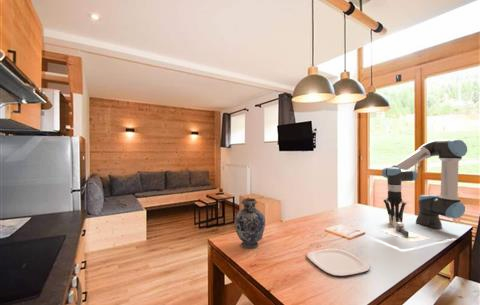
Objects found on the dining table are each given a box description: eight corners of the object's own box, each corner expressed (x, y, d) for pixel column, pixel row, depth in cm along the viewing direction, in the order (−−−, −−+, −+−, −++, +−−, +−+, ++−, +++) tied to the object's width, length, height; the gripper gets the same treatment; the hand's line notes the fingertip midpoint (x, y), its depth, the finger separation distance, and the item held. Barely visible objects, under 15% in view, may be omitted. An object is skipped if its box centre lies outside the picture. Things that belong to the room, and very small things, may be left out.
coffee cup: (401, 229, 162) (401, 212, 162) (386, 225, 169) (386, 210, 169) (404, 226, 168) (404, 210, 168) (390, 223, 175) (390, 207, 175)
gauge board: (396, 229, 162) (396, 226, 162) (431, 240, 141) (431, 238, 141) (377, 232, 156) (377, 230, 156) (411, 245, 135) (411, 242, 135)
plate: (377, 272, 107) (377, 268, 107) (332, 281, 99) (332, 277, 99) (339, 249, 131) (339, 246, 131) (301, 255, 124) (301, 252, 124)
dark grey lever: (394, 229, 157) (394, 221, 157) (402, 229, 156) (402, 222, 156) (402, 236, 145) (402, 227, 145) (411, 236, 143) (411, 228, 143)
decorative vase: (268, 252, 127) (267, 203, 126) (236, 254, 125) (234, 204, 125) (262, 237, 148) (261, 195, 148) (234, 239, 147) (233, 196, 146)
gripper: (381, 190, 152) (381, 224, 152) (403, 193, 141) (404, 230, 142) (386, 188, 156) (386, 222, 157) (408, 191, 145) (409, 227, 146)
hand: (395, 225), depth 149 cm, fingers closed
